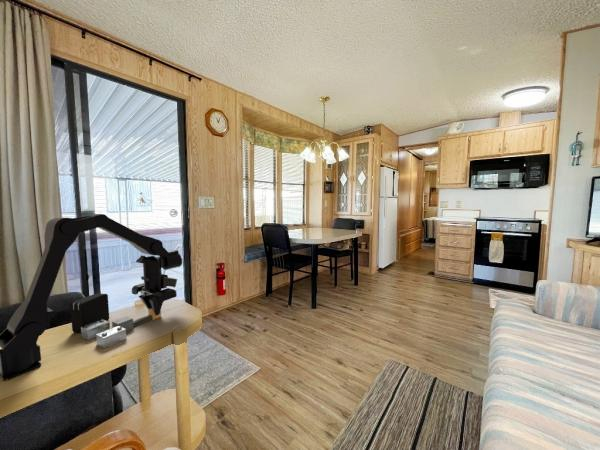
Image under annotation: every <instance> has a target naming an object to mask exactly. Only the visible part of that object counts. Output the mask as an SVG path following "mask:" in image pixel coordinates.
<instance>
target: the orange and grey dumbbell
mask: <svg viewBox="0 0 600 450" xmlns="http://www.w3.org/2000/svg"><path fill="white" fill-rule="evenodd" d="M147 313H148V314H147V315H146V316H143V317H141V318H138V319H135V320H134V319H133V317H130V316H123V317H121V318H118V319H115V320H113V321H111V326H110V328H109V329H112V328H114V327H117V326H120V327H122V328H124V329H126V332H128V331H130V330H133V329H134V328H135V327H137V326H139V325H143V324H145V323H147V322H149V321H153V320H156V319H159V318H161V317H162V309H161V310H160V313H159V315H156V314H155V312H154V310H153V308H150V309H147Z"/></svg>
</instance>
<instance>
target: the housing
mask: <svg viewBox="0 0 600 450" xmlns="http://www.w3.org/2000/svg"><path fill="white" fill-rule="evenodd" d="M110 324H111V323H110V321H109V320H108V321H106V320H103V319H102V320H99V321H97V322H94V323H91V324H88V325H85V326H82V327H81V332H80V333H81V337H82V338H84V339H86V340H87V341H89V340H92V339H94V338H96V346H99V347H100V348H101V349H107V348H109V347H111V346H113V345H116V344H118V343H120V342H122V341H123V342H124V341H125V340H127V331H126V329H124V328H122V327H120V326H117V327H114V328H112V329H109V328H110V327H111V325H110Z"/></svg>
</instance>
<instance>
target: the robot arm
mask: <svg viewBox="0 0 600 450" xmlns="http://www.w3.org/2000/svg"><path fill="white" fill-rule="evenodd" d="M94 229H99V230H101V231H104V232H106V233H108V234H110V235H113V236H115V237H116V238H119V239H120V240H123V241H125V242H127V243H129V244H131V246H133V247H134V248H135V249H136V250H138V251H139V252H140V253H141V255H140V256H139V258H137V259H136V260H135V262H136V263H137V264H142V268H143V269H142V270H143V271H142V272H143V275H141V276H140V280H142V281H143V282H142V283H139V284H136V285H133V287H132V288H131V294H133V295H135V296H137V295H138V294H139V293H140V295H138V298H139V299H140V300H141V302H142V303H143V304H144V305H145V307H146V309H147V310H148V309H150V308H153V310H154V312H155V314H156V315H159V313H160V310H161V311H162V306H163V304H164V302H165V301H168V300H171V299H174V298H176V297H178V296H177V290H175V289H174V288H176V286H177V283H178V279H177V278H174V277H173V278H172V277H169V275H168V274H164V273H162V269H163V270H164V271H165V270H171V269H176V268H180V267H181V266H182V265H183V258H182V255H181V254H180V253H179V250H176V249H175V250H170V251H168V250H167V249H166V248H165V247H164V244H163V242H162V241H161V240H160V239H158V238H154V237H152V236H148V235H144V234H141V233H139V232H137V231H135V230H133V229H131V228H129V227H127V226H125V225H123V224H121V223H119V222H118V221H116V220H115V219H112V218H111V217H108V215H106V214H104V213H94V214H91V215H84V216H77V217H73V218H72V217H63V216H62V217H60V216H59V217H54V218H51V219H49V221H47V223H46V226H45V231H44V235H43V236H44V249H43V252H42V255H41V257H40V260H39V262H38V265H37V268H36V270H35V273H34V275H33V279H32V281H31V284H30V286H29V287H28V291H27V294H26V297H25V299H24V301H23V302H22V303H21V304H20V306H19V307H17V309H16V310H15V311H14V313H13V314H12V316H11V318H10V319H9V321H8V322H7V326H6V328H5V329H4V330H3V331H2V332H1V333H0V348H1V349H0V376H1V377H2V378H3V379H2V378H1V377H0V378H1V379H2V380H3V381H7V380H6V379H8V380H10V379H13V378H15V377H18V376H20V375H22V374H25V373H27V372H29V371H33V370H35V369H36V368H40V367H41V366H42V363H41V361H42V357H41V356H42V354H41V346H40V345H39V344H38V339H39V337H40V336H41V335H43V334H44V333H45V331H46V329H47V328H50V327H51V326H50V324H51V319H52V318H53V316H54V315H55V310H53V309H51V308H50V307H48V302H49V299H50V296H51V295H52V294H51V293H52V290H53V289H54V285H55V283H56V279H57V277H58V274H59V272H60V270H61V266H62V263H63V261H64V258H65V255H66V253H67V251H68V249H69V248H70V247H72V245H73V244H74V243H75V241H76V240H77V238H78V236H79V235H80V233H83V232H87V231H91V230H94ZM142 254H143V255H142ZM145 255H150V256H145ZM156 256H157V257H156ZM169 287H172V288H169ZM12 377H13V378H12Z"/></svg>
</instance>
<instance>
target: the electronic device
mask: <svg viewBox="0 0 600 450" xmlns="http://www.w3.org/2000/svg"><path fill="white" fill-rule="evenodd" d="M109 306H110V305H109V295H108V293H94V294H92V295H89V296H85V297H83V298H81V299H80V298H79V299H78V300H75V301H72V302H71V303H70V306H69V308H70V317H71V319H70V320H71V331H72V332H73V333H81V327H82V326H85V325H88V324H91V323H94V322H97V321H99V320H102V319H103V320H106V321H108V322H109V319H110V310H109Z"/></svg>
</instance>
